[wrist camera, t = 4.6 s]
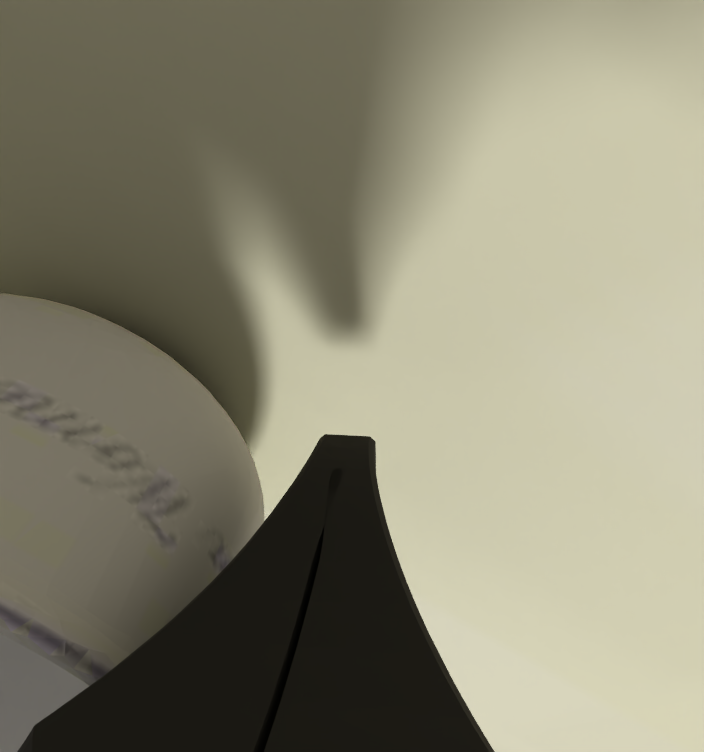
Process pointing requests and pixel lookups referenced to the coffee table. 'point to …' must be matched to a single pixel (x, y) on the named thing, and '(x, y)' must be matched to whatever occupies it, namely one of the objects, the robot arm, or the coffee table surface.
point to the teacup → (103, 501)
